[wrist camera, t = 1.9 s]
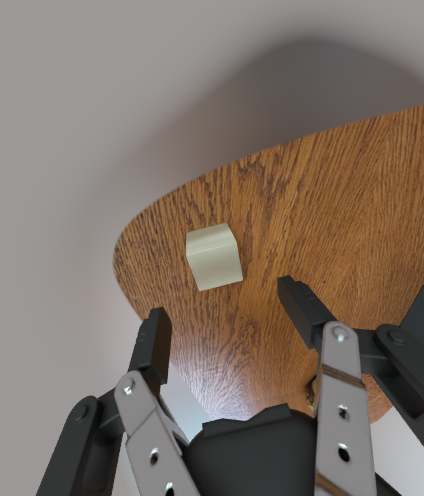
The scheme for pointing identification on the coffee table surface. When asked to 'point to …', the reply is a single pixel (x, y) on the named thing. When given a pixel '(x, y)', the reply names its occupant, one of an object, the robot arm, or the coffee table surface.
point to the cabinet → (416, 318)
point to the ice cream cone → (310, 394)
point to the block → (213, 256)
